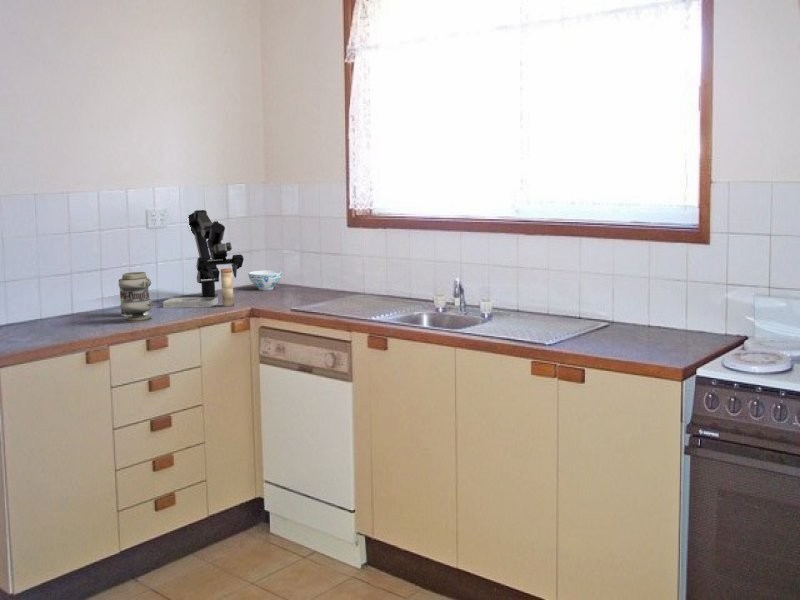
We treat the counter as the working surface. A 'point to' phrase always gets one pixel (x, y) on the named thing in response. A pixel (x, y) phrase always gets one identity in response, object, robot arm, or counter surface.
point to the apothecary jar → (136, 296)
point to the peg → (227, 287)
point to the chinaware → (265, 278)
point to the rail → (190, 302)
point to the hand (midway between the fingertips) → (224, 278)
